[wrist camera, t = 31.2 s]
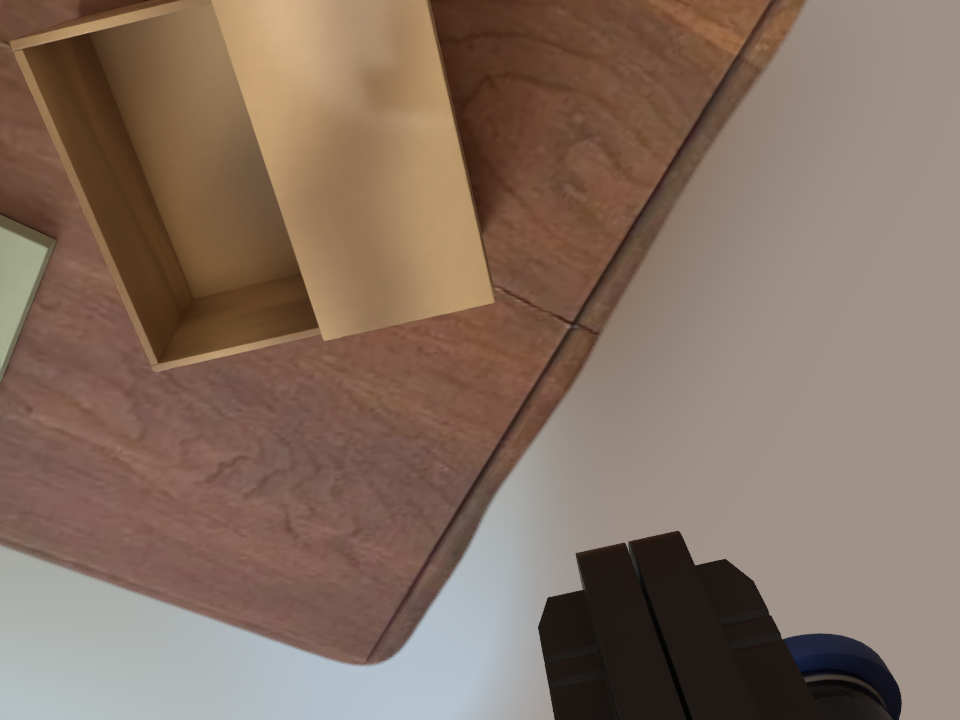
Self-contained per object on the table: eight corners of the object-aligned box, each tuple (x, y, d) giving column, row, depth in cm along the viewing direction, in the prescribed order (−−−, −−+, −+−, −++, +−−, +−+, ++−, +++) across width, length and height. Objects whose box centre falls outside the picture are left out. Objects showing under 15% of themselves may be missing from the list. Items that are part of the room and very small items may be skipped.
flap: (415, -55, 26) (415, -54, 26) (494, 298, 31) (495, 302, 31) (211, -6, 26) (208, -5, 26) (324, 337, 31) (323, 341, 31)
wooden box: (414, -64, 32) (416, -58, 26) (481, 236, 37) (495, 295, 32) (76, 17, 32) (8, 40, 27) (191, 303, 38) (153, 372, 32)
